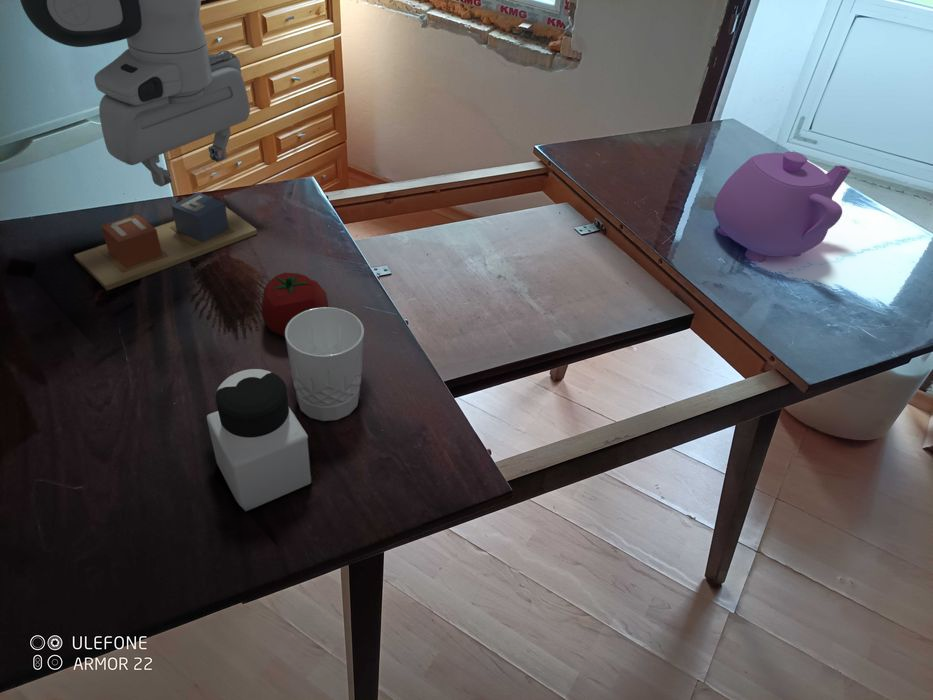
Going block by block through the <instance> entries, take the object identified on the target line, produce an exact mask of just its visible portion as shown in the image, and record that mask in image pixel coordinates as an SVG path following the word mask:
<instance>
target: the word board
mask: <svg viewBox="0 0 933 700" xmlns="http://www.w3.org/2000/svg"><path fill="white" fill-rule="evenodd" d="M225 207H226V213H227V220H228V226H229V227H228V228H227V229H225V230H223V231H222V232H220V233H218V234H216V235H215V236H213V237H211V238H210V239H208V240H206V241H204V242H201V241H199V240H197V239H194V238H192V237H190V236H188V235H185V234H183V233H181V232H178V231H177V230H176V225H175V220H173V221H170V222H167V223H164V224H161V225H158V226H154V228H155V229H156V230H157V234H158V239H159V243H160V247H161V251H162V255H161V256H158V257H155V258H152V259H150V260H147V261H144V262H141V263H139V264H136V265H133V266H130V267H128V268H126V267H125V266H124V265H123V264H121V263H120V262H119V261H118V260H117V259H116V258H115V257H114V256H113V255H112V254H111V253H110V252H109V251H108V248H107V245H106V243H105V244H101V245H98V246H95V247H93V248H90V249H86V250H84V251H81V252H78V253H75V254H73V255H74V259H75V261H76V262H78V263H79V265H80V266H82V268H84V270H86V271H87V272H88V273H89V275H91V276H92V277H93V279H95V280H96V281H97V282H98V283H99V284H100V285H101V286H102V287H103V288H104V289H105V291H110V290H113V289H116V288H118V287H121V286H124V285H126V284H128V283H132V282H134V281H137V280H139V279H142V278H145V277H147V276H150V275H153V274H155V273H158V272H161V271H164V270H165V269H168V268H171V267H174V266H176V265H179V264H181V263H185V262H187V261H189V260H192V259H195V258H197V257H201V256H204V255H205V254H208V253H210V252H213V251H216V250H218V249H221V248H224V247H227V246H229V245H232V244H235V243H237V242H240V241H243V240H245V239H248V238H250V237H253V236H256V235H258V229H257V228H255V227H254V226H253V225H251V224H250V223H249V222H247V221H246V220H245V219H243V218H242V217H241V216H239V215H238V214H236V213H235V212H234V211H232V209H229V208H228V207H227V206H225Z"/></svg>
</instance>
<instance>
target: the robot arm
mask: <svg viewBox="0 0 933 700" xmlns="http://www.w3.org/2000/svg"><path fill="white" fill-rule="evenodd" d="M201 3H202V0H20V4H21V6H22V9H23V11H24V13H25V15H26V16H27V19H29V22H31V24H32V25H33V26H34V27H35V28H36V29H37V30H38V31H39V32H41V33H42V35H44V36H46V37H47V38H49V39H50V40H52V41H55V42H56V43H59V44H61V45H63V46H68V47H74V48H88V47H94V46H100V45H105V44H111V43H116V42H120V41H124V40H126V43H127V49H126V50H124V51H123V52H122V53H121V54H120V55H118V57H116V58H115V59H114V60H113V61H111V62H110V63H109V64H108V65H106V66H105V67H103V68H101V69H100V70H99V71H98V72H96V73H95V75H94V77H93V80H94V84H95V87H96V89H97V90H98V91H99V92H101V93H102V94H104V95H103V96H102V97H101V99H100V102H99V105H98V106H99V108H98V109H99V111H98V113H99V120H100V127H101V131H102V136H103V140H104V144H105V148H106V151H107V152H108V153H109V155H111V157H113V158H115V159H116V160H118V161H120V162H122V163H124V164H126V165H129V166H135V165H138V164H140V163H141V164H142V165H144V167H145V168H146V169H147V170H148V171H149V172H150V175H151V178H152V182H153V183H154V184H155V185H157V186H158V187H161V188H162V187H164V186H166V185H169V184H171V183H172V178H171V173H170V171H169V170H167V169H164V168H163V167H161V166H159V165H158V164H159V163H160V161H161V160H160V156H161V155H163V154H165V153H168V152H170V151H173V150H176V149H178V148H181V147H183V146H186V145H188V144H191V143H193V142H196V141H199V140H201V139H203V138H207V137H208V136H211V135H214V137H213V140H212V144H211V145H210V146H207V148H208V152H209V157H210V160H212V161H214V162H215V163H219V162H222V161H224V160H226V159H227V158H228V155H227V150H226V149H227V146H228V143H229V140H230V137H231V127H234V126H237V125H239V124H242V123H244V122H247V120H248V119H249V116H250V113H251V107H250V100H249V95H248V91H247V88H246V84H245V81H244V77H243V76H242V69H241V68H242V67H241V61H240V59H239V58H238V57H237V55H236V54H234V53H232V52H230V51H229V50H222V51H219V52H218V53H214V54H213V53H212V54H209V47H208V46H209V45H208V40H207V36H206V33H205V31H204V29H203V25H202V22H201V17H200V15H201V6H202V4H201Z"/></svg>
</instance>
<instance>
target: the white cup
mask: <svg viewBox="0 0 933 700" xmlns="http://www.w3.org/2000/svg"><path fill="white" fill-rule="evenodd" d="M364 336H365V328H364V325H363V323H362V321H361V320H360V318H358V316H356V315H355V314H353V313H352V312H350V311H348V310H346V309H342V308H338V307H332V306H331V307H330V306H328V307H320V308H313V309H309V310H306V311H304V312H301V313H299V314H298V315H296V316H295V317H293V318H292V319H291V320H290V321H289V323H288V324H287V326H286V329H285V337H284V338H285V343H286V349H287V355H288V362H289V368H290V372H291V373H290V374H291V378H292V383H293V384H292V385H293V388H294V390H295V395H296V401H297V404H298V407H299V410H300V411H301V412H302V413H303V414H304V415H306V416H307V417H308V418H310V419H314V420H317V421H321V422H331V421H338V420H341V419H343V418H345V417H347V416H350V414H352V412H353V411H355V409H356V408H357V407H358V405H359V401H360V400H359V399H360V395H361V394H360V393H361V392H360V391H361V385H362V374H363V362H364V361H363V356H364V339H365V337H364Z"/></svg>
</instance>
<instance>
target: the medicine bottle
mask: <svg viewBox="0 0 933 700" xmlns="http://www.w3.org/2000/svg"><path fill="white" fill-rule="evenodd" d="M288 396H289V395H288V389H287V384H286V382H285V381H284V380H283V379H282V377H281V376H279V375H278V374H276V373H274V372H272V371H270V370H266V369H261V368H249V369H244V370H240V371H238V372H235V373H232V374H231V375H229V376H228V377H227V378H225V379H224V380H223V381H222V382H221V383H220V384H219V386H218V387H217V390H216V392H215V402H216V407H217V411H213V412H211V413H209V414H207V415H206V421H207V426H208V431H209V435H210V439H211V444H212V449H213V453H214V458H215V461H216V464H217V467H218V468H219V470H220V472H221V475H222V477H223V478H224V481H225V482H226V484H227V486H228V488H229V491H230V492H231V494H232V496H233V498H234V500H235V502H236V503H237V504H238V505H239V506H240V508H242V510H244V512H248V511H251V510H253V509H256V508H258V507H260V506H262V505H265V504H267V503H269V502H272V501H274V500H276V499H278V498H281V497H283V496H285V495H288V494H291V493H292V492H295V491H297V490H299V489H301V488H304V487H307V486H308V485H310V484H311V483H312V481H313V479H312V467H311V455H310V443H309V435H308V433H307V432H306V430H305V429H304V428H303V426H302V424H301V423H300V421H299V420H298V419H297V416H296V415H295V413H294V412H293V411H292V409H291V408H290V405H289V399H288V398H289V397H288Z"/></svg>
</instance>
